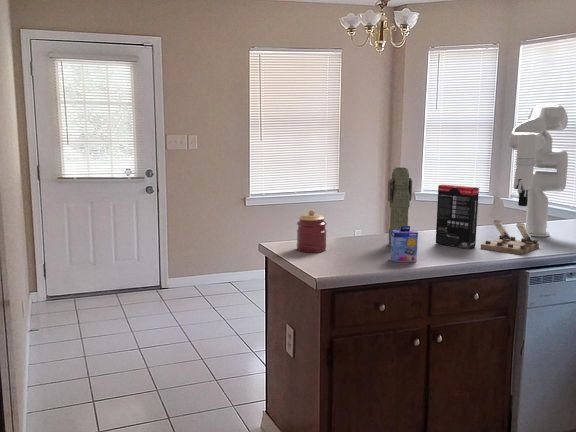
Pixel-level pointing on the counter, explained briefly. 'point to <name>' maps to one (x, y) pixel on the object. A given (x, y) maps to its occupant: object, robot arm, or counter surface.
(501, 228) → the strap
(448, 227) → the graphics card box
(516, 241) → the latch board
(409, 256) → the ink cartridge box
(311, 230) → the canister
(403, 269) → the counter surface
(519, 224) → the strap
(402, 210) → the green statue
